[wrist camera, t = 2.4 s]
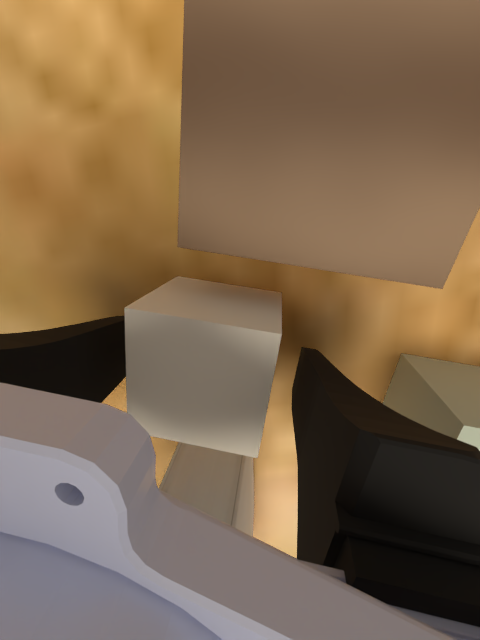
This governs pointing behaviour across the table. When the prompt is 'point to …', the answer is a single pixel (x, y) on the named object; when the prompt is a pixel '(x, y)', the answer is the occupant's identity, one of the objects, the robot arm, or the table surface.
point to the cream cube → (203, 362)
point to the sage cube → (438, 396)
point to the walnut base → (332, 133)
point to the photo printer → (213, 483)
